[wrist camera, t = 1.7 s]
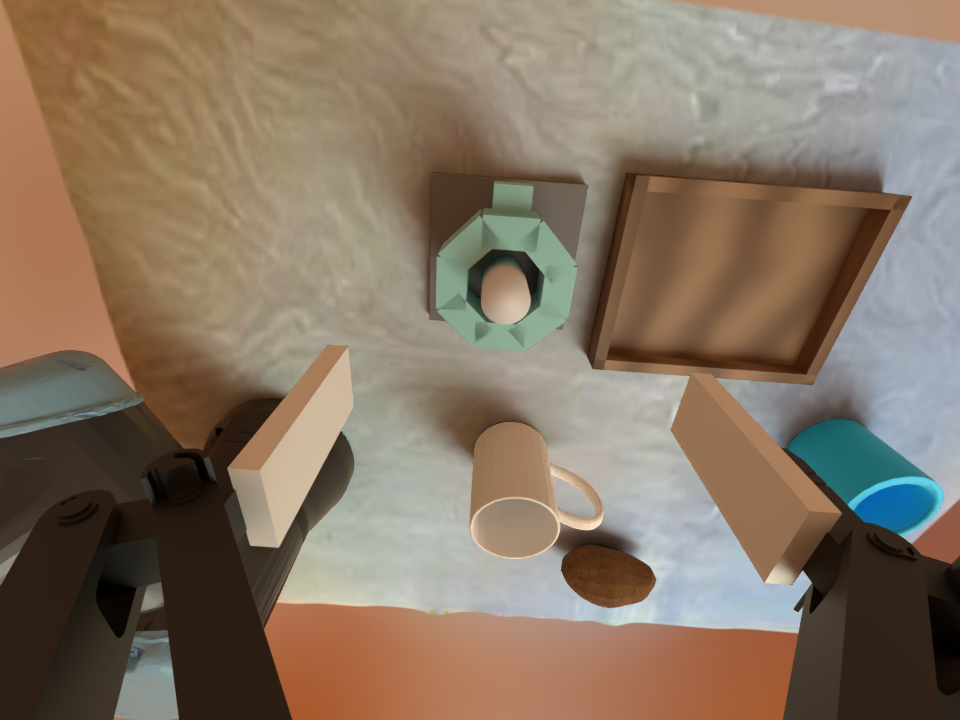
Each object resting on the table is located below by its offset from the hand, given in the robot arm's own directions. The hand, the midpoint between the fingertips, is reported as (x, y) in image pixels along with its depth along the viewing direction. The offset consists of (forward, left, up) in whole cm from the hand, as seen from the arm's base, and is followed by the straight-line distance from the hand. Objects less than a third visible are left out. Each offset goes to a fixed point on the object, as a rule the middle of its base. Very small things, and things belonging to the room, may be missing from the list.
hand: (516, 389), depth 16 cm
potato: (+16, -37, -22) cm, 45 cm away
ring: (0, 0, -15) cm, 15 cm away
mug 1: (+5, -21, -22) cm, 31 cm away
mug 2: (+36, -20, -22) cm, 46 cm away
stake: (0, 0, -21) cm, 21 cm away
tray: (+19, -1, -21) cm, 29 cm away
